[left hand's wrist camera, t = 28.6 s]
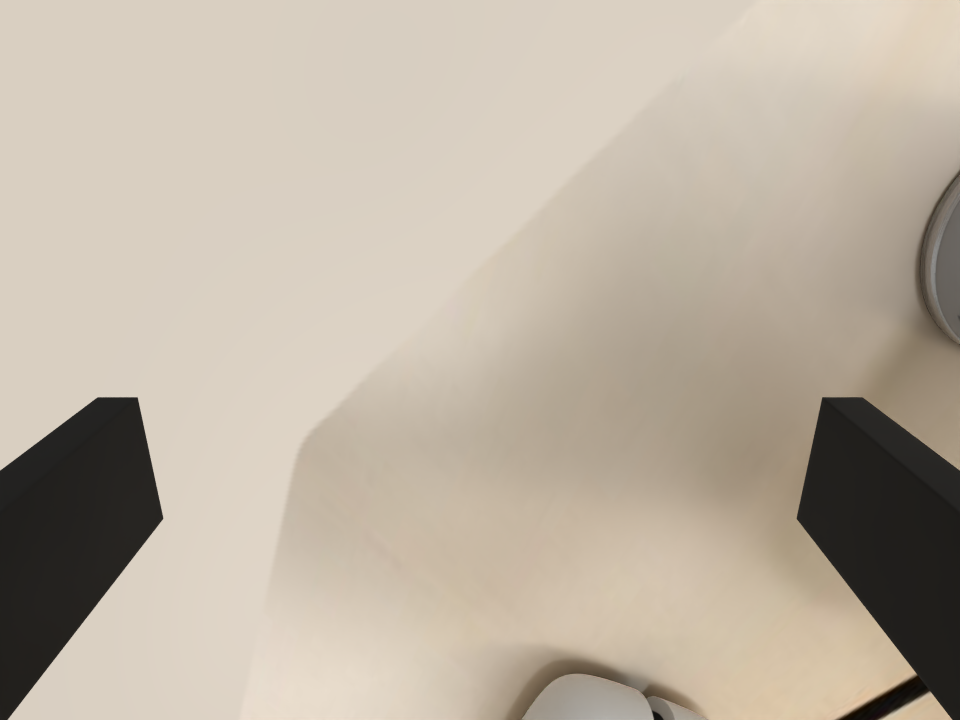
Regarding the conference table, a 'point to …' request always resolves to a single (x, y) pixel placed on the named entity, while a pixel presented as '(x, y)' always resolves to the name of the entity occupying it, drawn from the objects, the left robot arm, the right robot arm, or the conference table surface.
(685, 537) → the conference table surface
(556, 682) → the projector
